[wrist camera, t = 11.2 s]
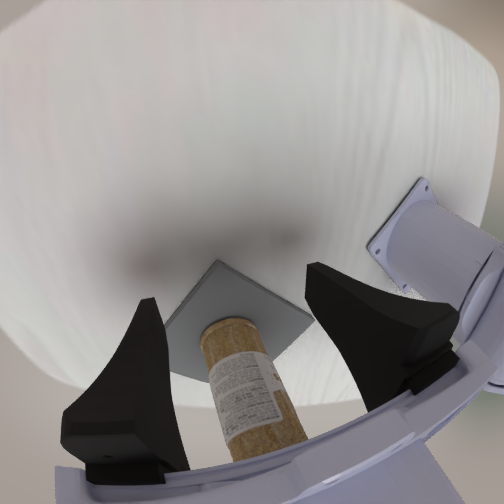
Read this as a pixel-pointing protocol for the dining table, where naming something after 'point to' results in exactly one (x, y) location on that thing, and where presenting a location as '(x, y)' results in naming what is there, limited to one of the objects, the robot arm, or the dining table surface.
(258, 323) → the coaster
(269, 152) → the dining table surface
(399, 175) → the dining table surface
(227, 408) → the sprinkles bottle
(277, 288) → the dining table surface
